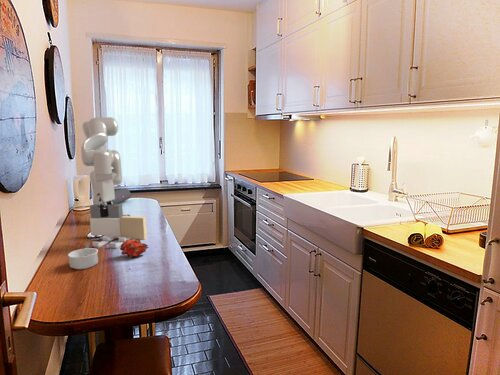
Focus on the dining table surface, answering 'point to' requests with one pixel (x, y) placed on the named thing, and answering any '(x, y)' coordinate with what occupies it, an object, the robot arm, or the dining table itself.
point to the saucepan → (83, 257)
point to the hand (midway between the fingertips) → (107, 215)
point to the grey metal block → (112, 211)
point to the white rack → (118, 229)
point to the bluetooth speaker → (121, 196)
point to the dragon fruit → (133, 248)
